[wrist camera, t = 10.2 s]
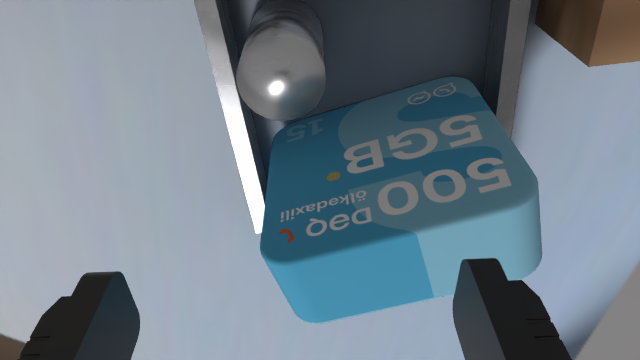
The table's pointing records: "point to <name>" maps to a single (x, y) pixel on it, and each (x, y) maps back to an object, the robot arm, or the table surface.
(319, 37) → the metal cylinder
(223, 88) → the grey shallow tray
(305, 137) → the data package
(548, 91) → the table surface
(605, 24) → the walnut block
